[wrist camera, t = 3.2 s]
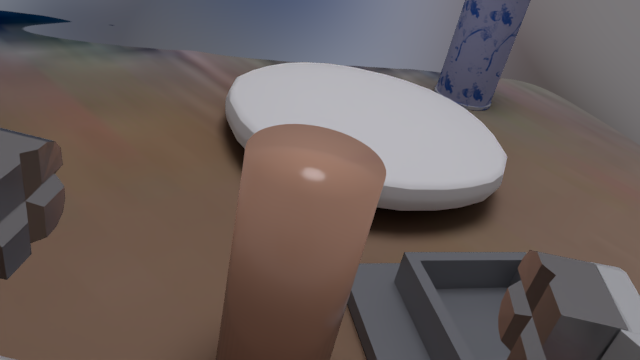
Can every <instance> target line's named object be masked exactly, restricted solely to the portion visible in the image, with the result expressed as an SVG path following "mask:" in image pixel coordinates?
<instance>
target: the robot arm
mask: <svg viewBox="0 0 640 360" xmlns="http://www.w3.org/2000/svg"><path fill="white" fill-rule="evenodd" d="M62 165H63V162H62V154H61V147H60V146H59V145H58V144H57V143H56V142H55V141H52V140H48V139H44V138H40V137H36V136H32V135H28V134H24V133H19V132H15V131H11V130H7V129H3V128H0V279H5V280H7V279H8V278H9V277H10V276H11V275H12V274H13V273H14V272H15V271H16V270H17V269H18V268H19V267H20V265H21V264H22V263H23V262H24V261H25V260H26V259H27V258H28V257H29V256H30V255H31V245H30V243H33V242H35V241H38V240H41V239H44V238H46V237H48V235H49V234H50V233H51V232H52V231H53V230H54V229H55V227H56V226H57V224H58V222H59V219H60V217H61V215H62V213H63V209H64V202H65V189H64V185H63V184H62V183H61V181H60V180H59V179H58V177H57V176H56V175H55V173H56V172H57V171H58V170H59V168H60V167H61V166H62ZM518 271H519V274H520V278H521V280H520V281H518V282H517V283H515V284H513V285H511V286H509V287H508V288H507V290H506V292H505V295H504V297H503V299H502V301H501V305H500V310H499V315H498V330H499V334H500V339H501V341H502V343H503V344H504V345H505V346H506V347H507V348H508V349H509V350H510V351H511V353H510V354H509V356H508V358H507V360H640V296H639V294H638V292H637V290H636V289H635V287H634V285H633V284H632V282H631V280H630V278H629V277H628V275H627V273H626V272H624V271H623V270H622V269H620V268H618V267H613V266H608V265H603V264H598V263H592V262H585V261H580V260H576V259H571V258H566V257H561V256H556V255H551V254H546V253H542V252H537V251H532V250H530V251H529V252H528V253H527V254H526V255H525V256H524V257H523V259H522V261H521V263H520V265H519V266H518ZM0 360H17V359H12V358H8V357H4V356H0Z"/></svg>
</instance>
